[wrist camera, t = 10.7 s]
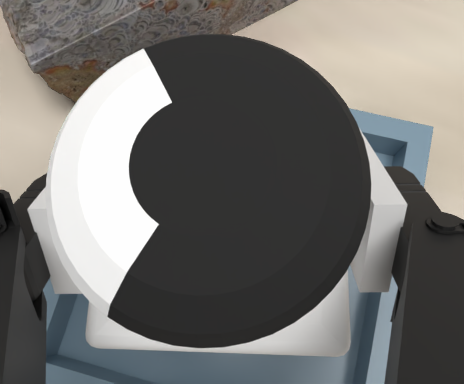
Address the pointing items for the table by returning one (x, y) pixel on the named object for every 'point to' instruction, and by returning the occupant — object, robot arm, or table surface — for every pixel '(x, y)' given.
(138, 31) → the geological specimen
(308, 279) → the medicine bottle
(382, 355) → the tray
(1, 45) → the table surface
